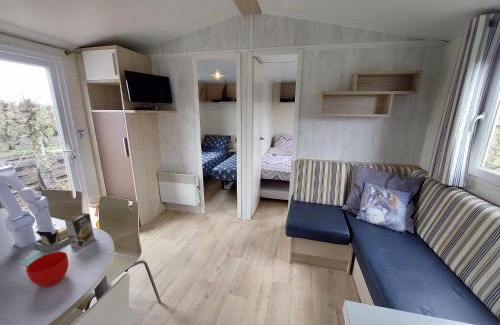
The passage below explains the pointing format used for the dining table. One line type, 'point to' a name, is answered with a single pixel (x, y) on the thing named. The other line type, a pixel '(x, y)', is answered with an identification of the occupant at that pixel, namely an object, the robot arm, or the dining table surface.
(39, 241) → the parts bin
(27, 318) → the dining table surface
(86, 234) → the coffee box
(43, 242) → the labelled block
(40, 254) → the teal mat
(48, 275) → the red mixing bowl
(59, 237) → the plain block
